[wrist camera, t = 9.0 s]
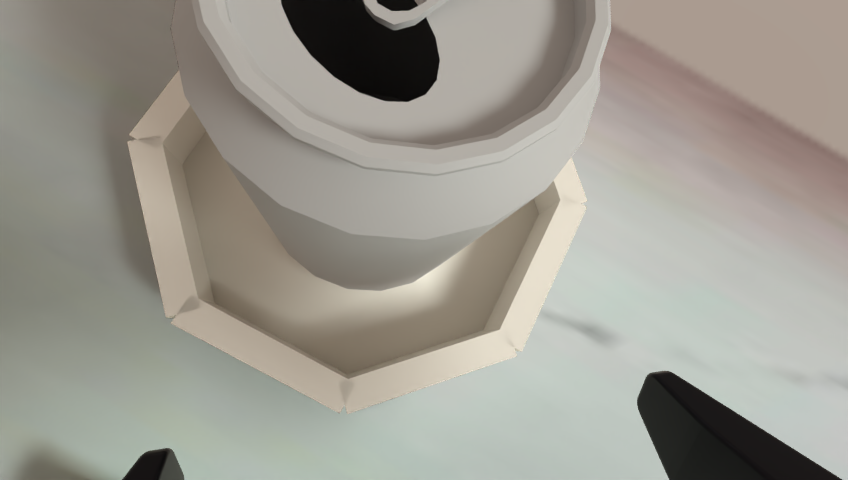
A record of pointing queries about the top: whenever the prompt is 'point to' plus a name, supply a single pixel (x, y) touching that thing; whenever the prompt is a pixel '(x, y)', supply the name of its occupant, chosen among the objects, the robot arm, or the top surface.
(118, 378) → the top surface
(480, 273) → the bowl
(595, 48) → the can
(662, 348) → the top surface
